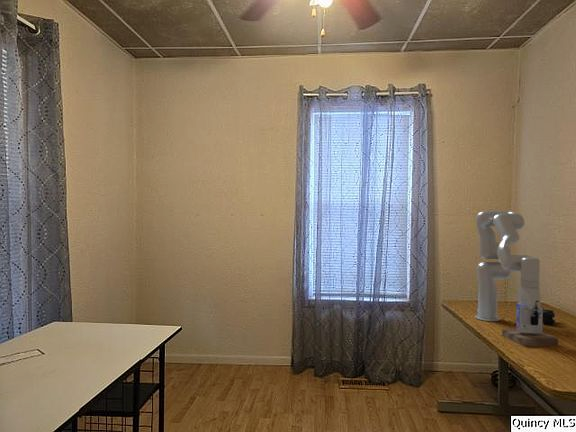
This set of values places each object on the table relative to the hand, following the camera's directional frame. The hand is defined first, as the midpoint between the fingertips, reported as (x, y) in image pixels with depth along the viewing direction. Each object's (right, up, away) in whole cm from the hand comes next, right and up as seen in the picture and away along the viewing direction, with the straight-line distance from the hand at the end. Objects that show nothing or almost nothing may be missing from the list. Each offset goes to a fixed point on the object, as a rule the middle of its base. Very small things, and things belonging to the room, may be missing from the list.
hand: (529, 322), depth 194 cm
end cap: (+27, -8, +32) cm, 42 cm away
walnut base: (0, -8, 0) cm, 8 cm away
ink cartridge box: (0, -4, 0) cm, 4 cm away
